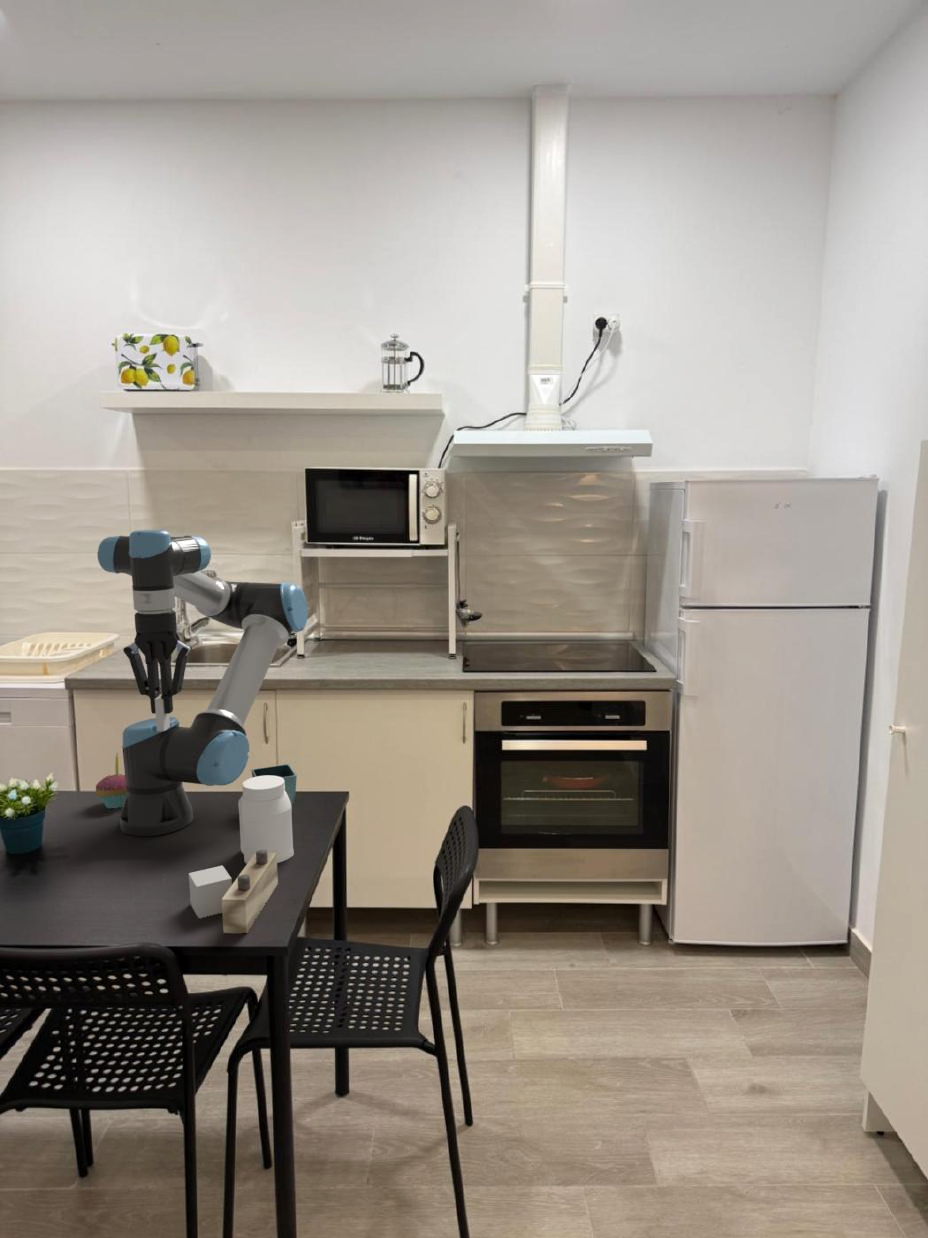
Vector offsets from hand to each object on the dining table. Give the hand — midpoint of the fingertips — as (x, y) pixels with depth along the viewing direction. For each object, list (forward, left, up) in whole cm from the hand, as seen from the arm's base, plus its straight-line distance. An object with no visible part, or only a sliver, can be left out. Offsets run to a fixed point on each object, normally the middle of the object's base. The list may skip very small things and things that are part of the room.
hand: (163, 729), depth 169 cm
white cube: (+16, -20, -27) cm, 37 cm away
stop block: (+23, -20, -26) cm, 40 cm away
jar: (+19, +2, -27) cm, 33 cm away
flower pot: (+14, +25, -27) cm, 39 cm away
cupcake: (-24, +26, -27) cm, 44 cm away
